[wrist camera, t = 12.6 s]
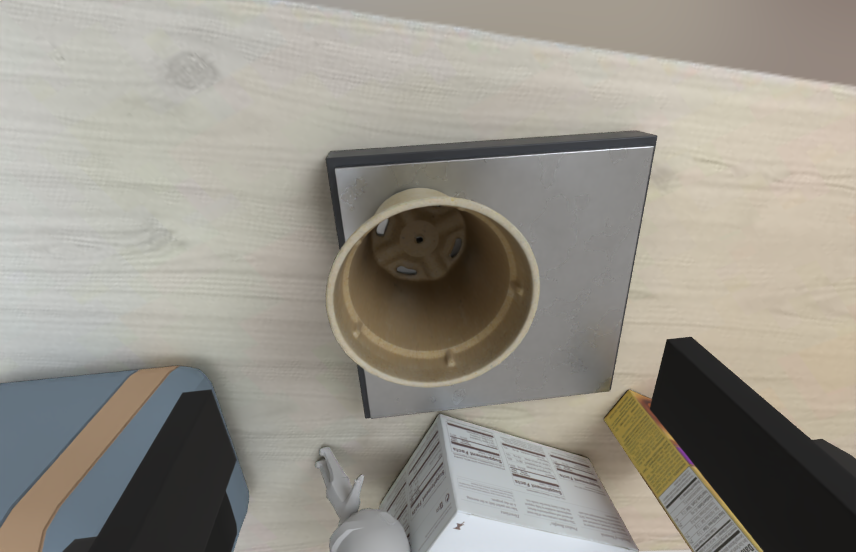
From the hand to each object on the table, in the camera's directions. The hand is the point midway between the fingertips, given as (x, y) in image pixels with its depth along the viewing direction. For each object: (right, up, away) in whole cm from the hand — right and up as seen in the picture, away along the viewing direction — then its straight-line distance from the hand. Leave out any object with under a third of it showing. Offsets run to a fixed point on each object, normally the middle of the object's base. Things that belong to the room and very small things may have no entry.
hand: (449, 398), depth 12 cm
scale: (+4, +3, +19) cm, 20 cm away
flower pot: (-1, +6, +14) cm, 15 cm away
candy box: (+20, -9, +27) cm, 35 cm away
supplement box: (+5, -16, +29) cm, 34 cm away
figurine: (-10, -12, +25) cm, 30 cm away
